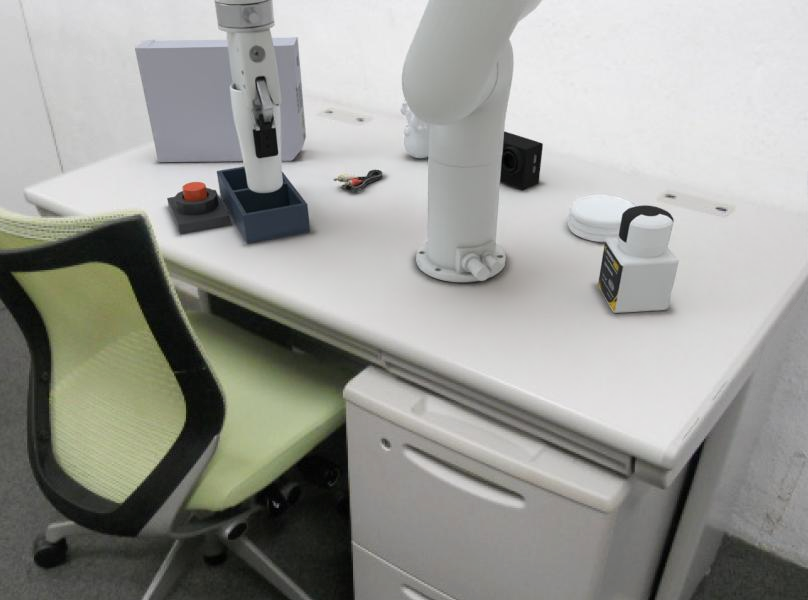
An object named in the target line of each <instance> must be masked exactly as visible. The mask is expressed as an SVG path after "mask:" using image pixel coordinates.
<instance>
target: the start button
mask: <svg viewBox="0 0 808 600" xmlns="http://www.w3.org/2000/svg"><path fill="white" fill-rule="evenodd" d="M206 185H207V184H206V183H204V182H202V181H191V182H187V183H185V184H183V185H182V187H181V189H182V191H183V194H184V199H185V200H187V201H199V200H203V199H205V198H207V191H206V188H207V186H206Z"/></svg>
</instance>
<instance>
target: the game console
mask: <svg viewBox="0 0 808 600" xmlns="http://www.w3.org/2000/svg"><path fill="white" fill-rule="evenodd" d="M272 40H273V45H274V51H275V57H276V63H277V70H278V78H279V85H280V92H281V100H282V102H281V104H280V115H281V159H282V162H285V161H286V162H287V161H289V162H293V161H294V159H295V158H296V157H297V155H299V153H300V152H301V151H302V149H303V148H304V145H305V141H306V138H307V131H306V120H305V119H306V118H305V108H304V95H303V83H302V72H301V71H302V70H301V60H300V49H299V47H300V46H299V37H298V36H293V37H272ZM134 51H135V56H136V60H137V65H138V71H139V75H140V81H141V86H142V91H143V94H144V99H145V105H146V109H147V110H146V111H147V115H148V118H149V124H150V128H151V133H152V134H151V135H152V138H153V139H152V140H153V143H154V147H155V148H154V149H155V153H156V158H157V162H158V163H194V162H195V163H197V162H199V163H202V162H203V163H205V162H211V163H212V162H243V158H242V154H241V149H240V145H239V141H238V136H237V132H236V127H235V123H234V118H233V112H232V106H231V97H230V85H231V84H232V83H233V81H232V75H231V68H230V61H229V52H228V43H227V39H189V40H185V39H184V40H183V39H181V40H156V39H146V40H143V41H141V42H140V43H139V44H137V45H136V46H135V47H134Z"/></svg>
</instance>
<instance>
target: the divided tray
mask: <svg viewBox="0 0 808 600" xmlns="http://www.w3.org/2000/svg"><path fill="white" fill-rule="evenodd" d="M216 176H217V177H216V178H217V183H218V189H219V194H220V196H219V197H220V199H221V201H222V203H223V205H224V206H225V208H226V210H227V212H228V214H229V215H230V217H231V219H232V220H233V221H234V224H235V226H236V227H237V229H238V230H239V232H240V234H241V236H242V238H243V240H244V242H245V243H246V245H252V244H255V243H261V242H266V241H267V242H268V241H271V240H276V239H282V238H287V237H293V236H298V235H303V234H308V233H311V227H310V226H311V225H310V217H309V205H308V202H307V201H306V200H305V198H304V197H303V196H302V195H301V194H300V192H299V191H298V190H297V189H296V187H295V186H294V184H293V183H292V182H291V181H290V179H289V178H288V177H287V176H286V174H285V173H284V172H283V171H282V178H283V185H282V187H281V188H280V189H278V190H276V191H274V192H270V193H257V192H253V191H251V190H250V189H249V188H248V185H247V178H246V172H245V168H244V166H239V167H233V168H226V169H221V170H220V169H219V170H216Z"/></svg>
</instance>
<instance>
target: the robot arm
mask: <svg viewBox="0 0 808 600" xmlns="http://www.w3.org/2000/svg"><path fill="white" fill-rule="evenodd" d="M542 2H543V0H428V2H427V4H426V7H425V9H424V12H423V14H422V16H421V19H420V21H419V23H418V27H417V28H416V31H415V33H414V36H413V39H412V41H411V43H410V45H409V48H408V51H407V54H406V56H405V58H404V62H403V67H402V71H401V89H402V94H403V98H404V100H405V101H406V103H407V105H408V107H409V108H410V110H411V111H412V112H413V113H414V115H415V116H417V117H418V118H419V119H420V120H422V121H424V122H426V123H429V124H430V131H429V153H428V157H427V160H428V161H427V162H428V163H427V237H426V238H427V239H426V240H427V241H425V242H424V243H423V244H421V246H420V247H419V248H418V249H417V251H416V254H415V258H416V259H415V262H416V265H417V267H418V268H419V270H420V271H421V272H422V273H424V274H425V275H427V276H429V277H431V278H434V279H436V280H441V281H445V282H450V283H473V282H484V281H486V280H488V279H491V278H493V277H495V276H496V275H498V274H499V273H501V272H502V271H503V269H504V268H505V266H506V260H507V256H506V255H507V254H506V252H505V250H504V248H502V246H501V245H499V244H497V243H496V242H497V230H498V216H499V215H498V214H499V204H500V203H499V201H500V188H501V182H500V175H501V161H502V152H503V139H504V131H505V127H506V119H507V113H508V112H507V111H508V104H509V100H510V94H511V87H512V81H513V76H514V66H515V65H514V63H515V60H514V59H515V57H514V51H513V45H512V42H511V40H510V38H511V36H512V34H513V33H514V31H515V29H516V27H517V25H518V23H519V22H521V21H522V20H523V19H525V18H526V17H528V16H529V15H530V14H531V13H532V12H533V11H535V10H536V9H537V8H538V6H539V5H540V4H541V3H542ZM273 4H274V3H273V0H214V8H215V14H216V22H217V28H218V30H219V31H222V32H226V40H227V43H228V52H229V61H230V68H231V75H232V81H233V83H235V88H236V90H239V91H242V95H243V98H244V102H245V105H246V107H247V108H249V109H251V111H252V117H253V122H254V127H255V129H253V137H254V145H255V153H256V157H257V158H265V157H272V156H277V155H278V145H277V135H276V127H275V121H274V116H273V106H272V103H271V101H272V102H273V103H274V104H275V105H276V106H280V104H281V102H282V100H281V92H280V85H279V78H278V70H277V63H276V57H275V51H274V45H273V40H272V38H273V36H272V31H271V29H272V28H273V27H275V25H276V24H275V23H276V22H275V14H274V5H273ZM269 94H270V96H271V98H272V100H270V96H269ZM258 97H259V100H260V104H261V105H260V106H255V105H254V100H257V99H258ZM257 111H261V112H262V114H259V120H258V115H257Z"/></svg>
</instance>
